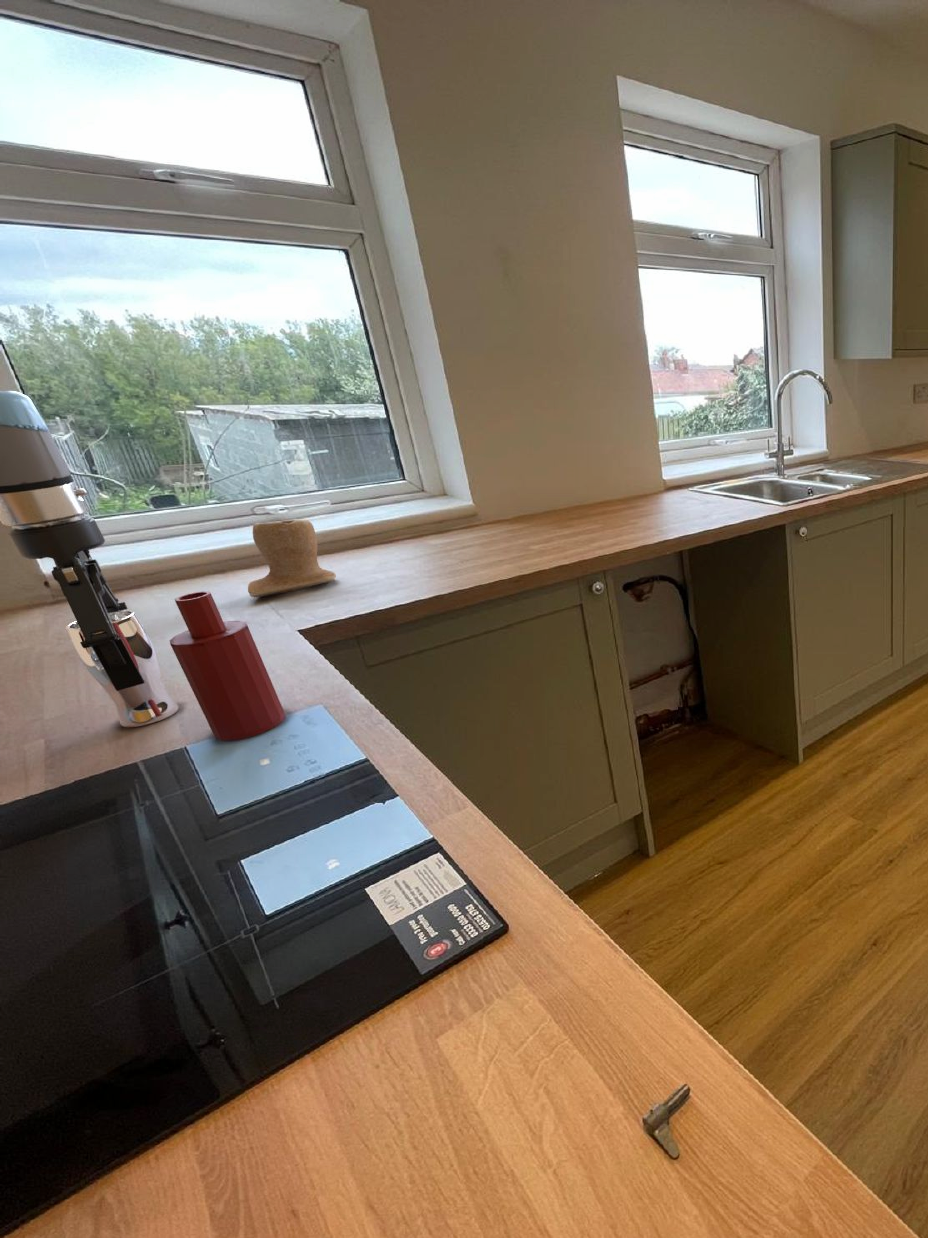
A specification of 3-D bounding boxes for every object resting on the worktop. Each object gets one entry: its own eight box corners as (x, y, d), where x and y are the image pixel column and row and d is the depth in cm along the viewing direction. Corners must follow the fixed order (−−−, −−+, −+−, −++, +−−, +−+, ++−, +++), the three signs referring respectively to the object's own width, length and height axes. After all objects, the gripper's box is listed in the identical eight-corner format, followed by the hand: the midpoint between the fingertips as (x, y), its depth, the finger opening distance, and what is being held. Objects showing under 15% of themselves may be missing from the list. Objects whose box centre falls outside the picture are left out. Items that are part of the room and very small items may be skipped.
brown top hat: (333, 573, 156) (310, 509, 150) (340, 585, 147) (316, 518, 141) (250, 590, 147) (222, 523, 141) (253, 604, 138) (223, 533, 133)
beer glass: (135, 709, 98) (86, 614, 92) (193, 700, 100) (148, 606, 94) (104, 733, 92) (49, 633, 86) (166, 723, 94) (116, 624, 88)
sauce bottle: (217, 747, 87) (152, 612, 80) (213, 727, 92) (151, 597, 85) (289, 724, 92) (234, 594, 84) (281, 705, 97) (228, 581, 89)
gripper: (87, 530, 79) (170, 689, 87) (95, 501, 95) (164, 637, 104) (-9, 546, 74) (88, 712, 83) (17, 513, 91) (96, 654, 99)
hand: (131, 670), depth 93 cm, fingers open, 13 cm apart
